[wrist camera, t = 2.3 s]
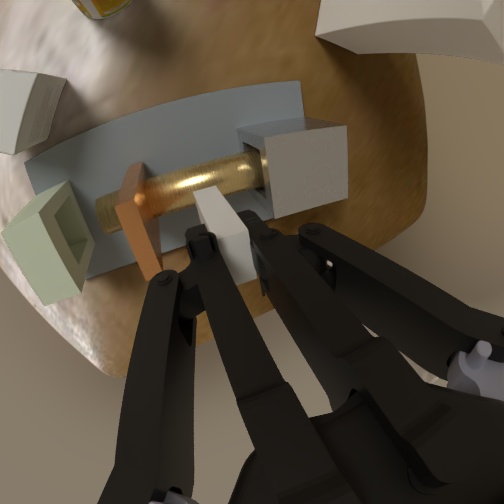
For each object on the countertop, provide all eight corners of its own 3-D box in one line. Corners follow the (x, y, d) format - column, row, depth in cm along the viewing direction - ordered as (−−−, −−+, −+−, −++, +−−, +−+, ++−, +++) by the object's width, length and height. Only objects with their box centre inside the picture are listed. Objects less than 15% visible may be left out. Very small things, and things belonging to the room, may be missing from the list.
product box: (2, 131, 15) (-38, 146, 9) (20, 70, 13) (-19, 66, 7) (48, 141, 18) (14, 157, 12) (69, 78, 16) (38, 71, 10)
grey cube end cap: (236, 128, 23) (263, 137, 17) (304, 116, 24) (346, 125, 19) (247, 191, 26) (274, 219, 21) (309, 175, 28) (347, 197, 22)
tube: (98, 177, 20) (68, 225, 12) (306, 122, 24) (376, 141, 16) (117, 227, 23) (105, 294, 15) (310, 170, 27) (374, 207, 19)
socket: (35, 195, 19) (0, 232, 13) (68, 179, 20) (38, 212, 13) (64, 255, 23) (44, 306, 17) (95, 243, 24) (81, 293, 17)
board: (28, 159, 18) (24, 162, 17) (293, 81, 23) (299, 80, 22) (80, 275, 26) (78, 282, 25) (306, 203, 31) (311, 207, 30)
